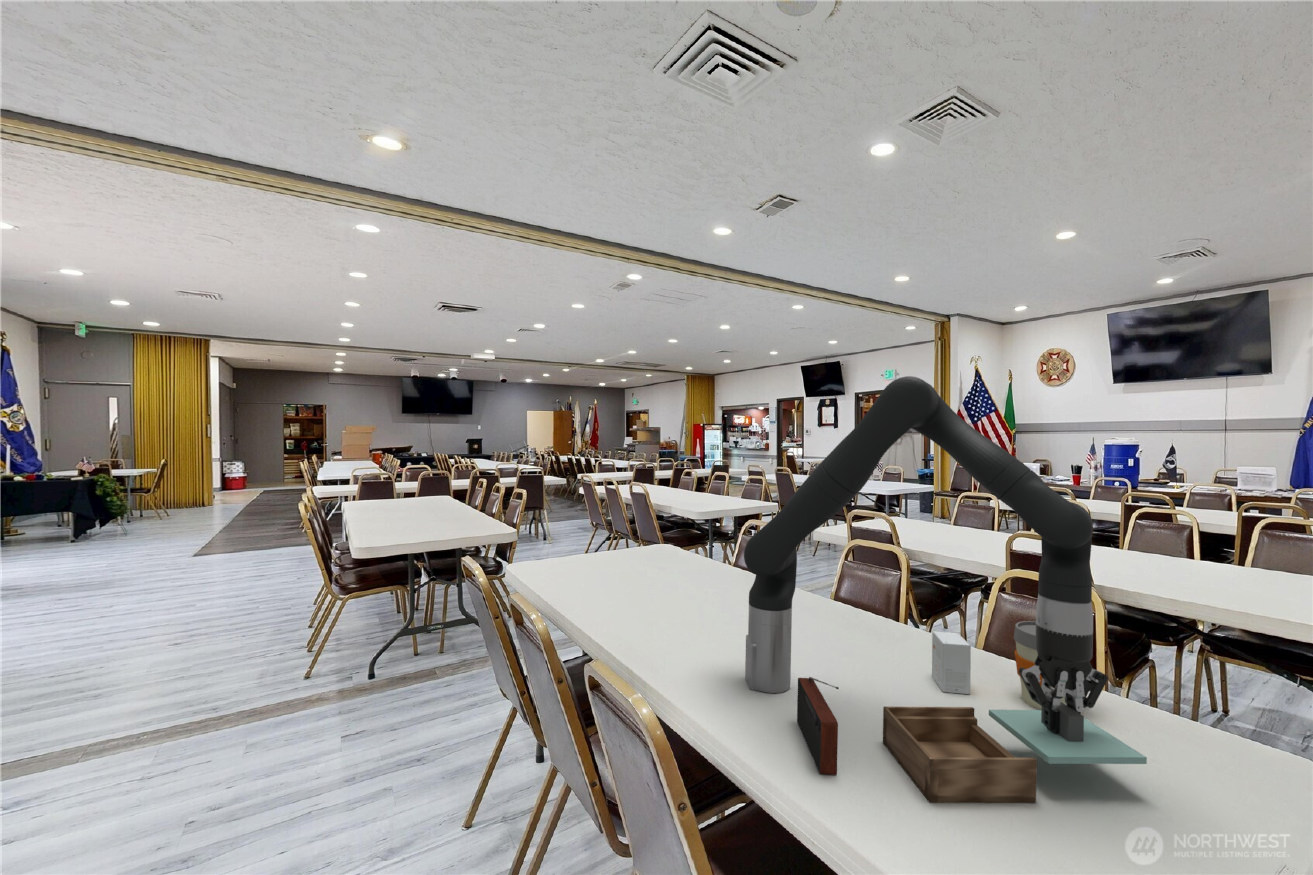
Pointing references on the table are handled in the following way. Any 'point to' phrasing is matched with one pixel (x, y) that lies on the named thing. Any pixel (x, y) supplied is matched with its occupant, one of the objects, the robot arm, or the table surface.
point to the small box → (951, 662)
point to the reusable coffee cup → (1027, 655)
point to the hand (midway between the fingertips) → (1061, 730)
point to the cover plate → (1062, 748)
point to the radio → (817, 725)
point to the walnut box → (956, 757)
